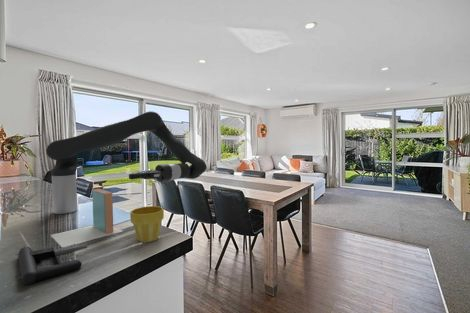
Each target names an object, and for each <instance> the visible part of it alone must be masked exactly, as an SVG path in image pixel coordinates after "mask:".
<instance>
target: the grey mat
mask: <svg viewBox="0 0 470 313" xmlns="http://www.w3.org/2000/svg"><path fill="white" fill-rule="evenodd" d="M121 232H123V230H122V229H121V228H119V227H117V226H115V225H113V232H112V233H109V234H105V233H103V232H102V231H100V230H99V229H97V228H95V227H94V226H93V225H89V226H85V227H79V228H75V229H71V230H65V231H63V232H59V233H52V234H50V237H51V238H52V239H53V240H54V241H55V242H56V243H57V244H58V245H59V246H60V247H61V249H62V248H67V247H72V246H76V245H77V244H81V243H82V244H83V243H86V242H89V241H92V240H96V239H99V238H103V237H104V238H105V237H107V236H112V235H114V234H115V235H116V234H118V233H121Z"/></svg>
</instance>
